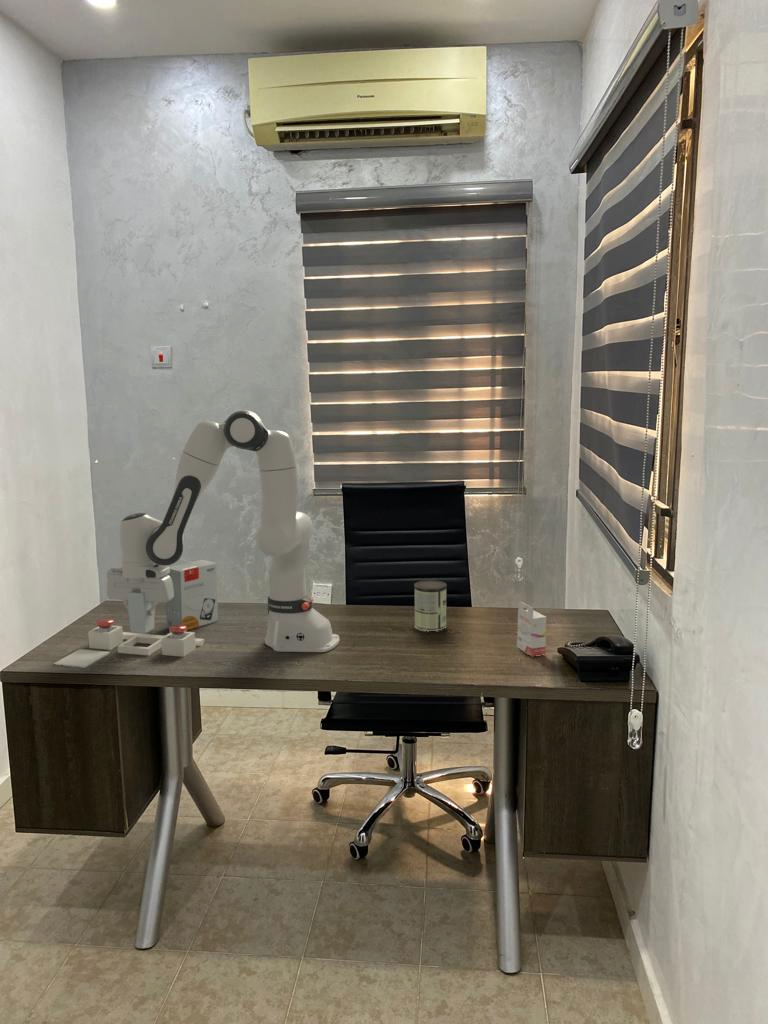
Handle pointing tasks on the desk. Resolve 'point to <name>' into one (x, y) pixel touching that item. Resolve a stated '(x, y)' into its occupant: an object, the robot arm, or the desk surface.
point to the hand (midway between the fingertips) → (141, 614)
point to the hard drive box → (193, 594)
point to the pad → (82, 658)
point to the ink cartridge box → (531, 630)
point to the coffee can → (430, 605)
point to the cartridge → (139, 612)
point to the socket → (147, 639)
